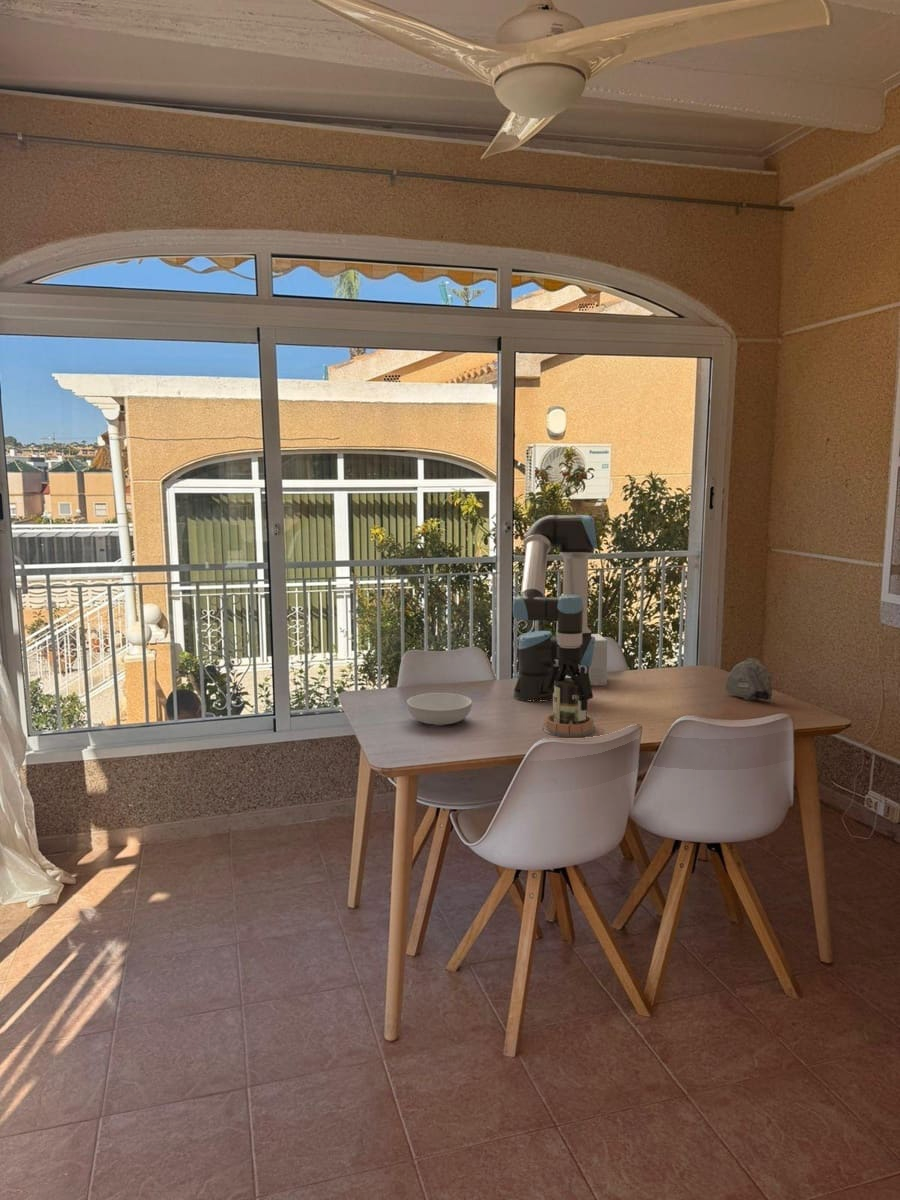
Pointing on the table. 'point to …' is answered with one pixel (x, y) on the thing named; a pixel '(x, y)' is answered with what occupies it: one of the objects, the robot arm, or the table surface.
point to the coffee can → (566, 702)
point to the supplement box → (598, 662)
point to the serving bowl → (439, 708)
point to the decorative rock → (749, 681)
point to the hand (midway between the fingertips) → (569, 716)
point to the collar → (569, 727)
